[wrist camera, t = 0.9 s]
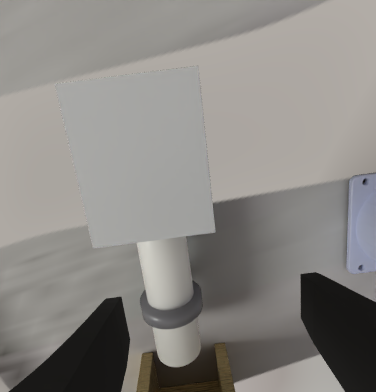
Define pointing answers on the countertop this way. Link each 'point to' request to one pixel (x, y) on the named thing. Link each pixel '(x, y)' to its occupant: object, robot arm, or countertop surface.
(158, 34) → the countertop surface
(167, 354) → the tube
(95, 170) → the light grey block
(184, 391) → the socket
